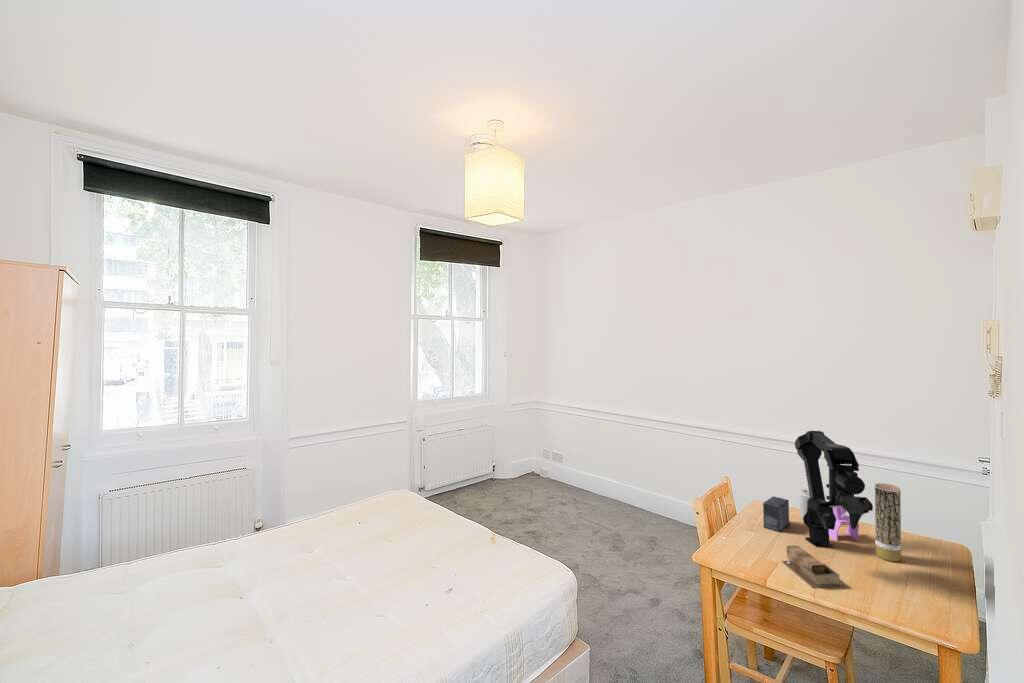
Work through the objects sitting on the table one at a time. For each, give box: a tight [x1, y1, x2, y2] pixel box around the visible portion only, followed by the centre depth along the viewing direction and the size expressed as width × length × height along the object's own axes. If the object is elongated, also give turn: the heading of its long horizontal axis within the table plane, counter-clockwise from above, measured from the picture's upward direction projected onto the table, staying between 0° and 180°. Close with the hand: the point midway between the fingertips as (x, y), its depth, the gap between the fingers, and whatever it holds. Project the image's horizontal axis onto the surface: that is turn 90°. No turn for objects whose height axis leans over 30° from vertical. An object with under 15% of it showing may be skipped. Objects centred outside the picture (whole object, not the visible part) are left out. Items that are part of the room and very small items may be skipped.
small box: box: [762, 496, 790, 533], centre depth 183 cm, size 11×6×10 cm, turn 130°
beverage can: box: [799, 488, 810, 520], centre depth 188 cm, size 6×6×12 cm
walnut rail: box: [786, 545, 825, 574], centre depth 150 cm, size 13×4×4 cm, turn 0°
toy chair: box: [828, 507, 860, 542], centre depth 172 cm, size 8×9×15 cm
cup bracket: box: [781, 560, 845, 589], centre depth 147 cm, size 15×10×4 cm, turn 1°
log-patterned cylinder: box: [874, 483, 902, 563], centre depth 156 cm, size 7×7×25 cm
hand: (839, 529), depth 151 cm, fingers open, 9 cm apart
